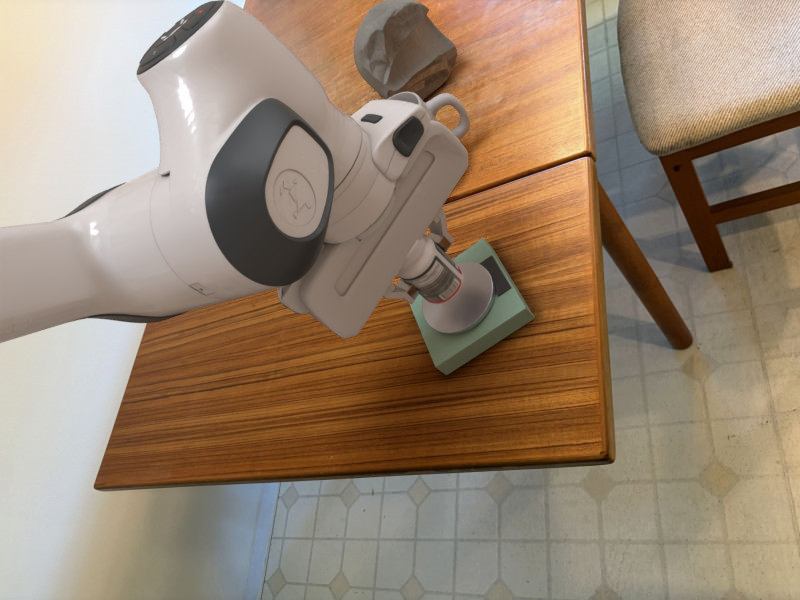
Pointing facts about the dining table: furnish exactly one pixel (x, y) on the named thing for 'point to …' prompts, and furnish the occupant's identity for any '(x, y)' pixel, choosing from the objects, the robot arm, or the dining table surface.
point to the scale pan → (463, 302)
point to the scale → (493, 328)
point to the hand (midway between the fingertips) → (429, 270)
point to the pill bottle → (432, 272)
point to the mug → (436, 105)
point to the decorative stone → (402, 50)
